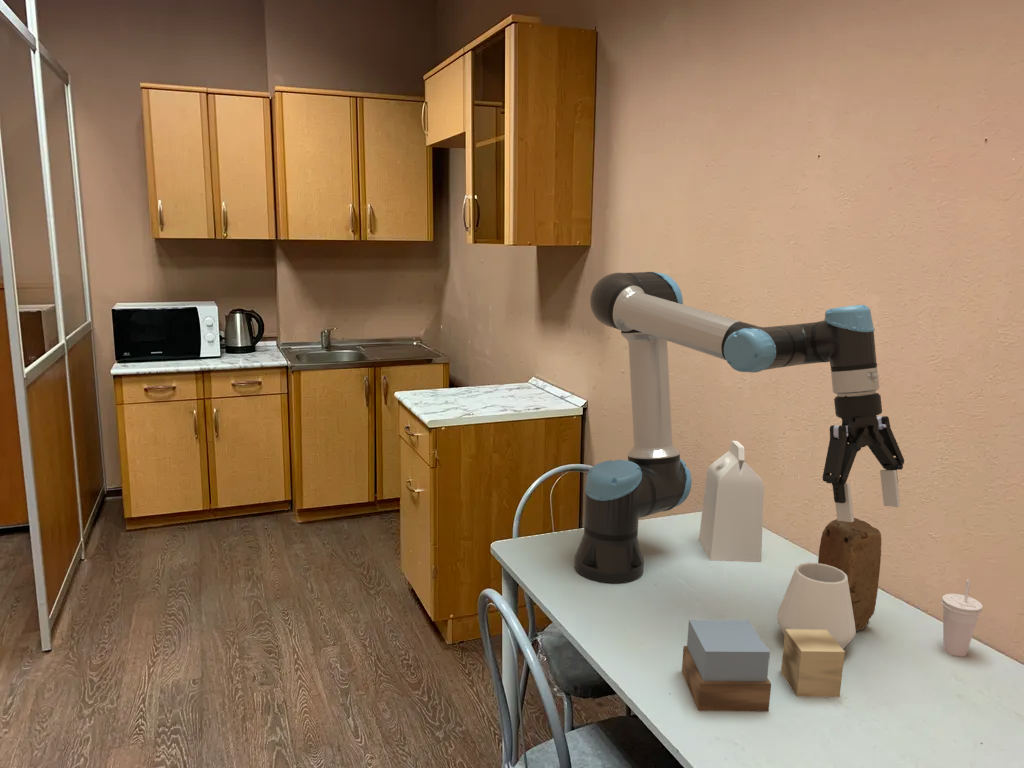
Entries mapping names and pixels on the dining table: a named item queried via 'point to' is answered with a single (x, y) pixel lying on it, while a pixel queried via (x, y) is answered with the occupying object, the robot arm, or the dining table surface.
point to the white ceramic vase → (818, 602)
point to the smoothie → (959, 621)
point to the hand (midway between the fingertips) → (869, 513)
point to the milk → (732, 509)
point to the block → (855, 562)
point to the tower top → (727, 650)
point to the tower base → (724, 691)
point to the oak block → (812, 663)
